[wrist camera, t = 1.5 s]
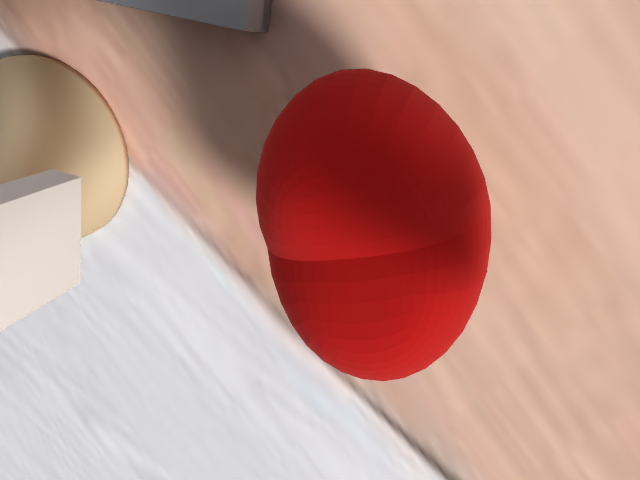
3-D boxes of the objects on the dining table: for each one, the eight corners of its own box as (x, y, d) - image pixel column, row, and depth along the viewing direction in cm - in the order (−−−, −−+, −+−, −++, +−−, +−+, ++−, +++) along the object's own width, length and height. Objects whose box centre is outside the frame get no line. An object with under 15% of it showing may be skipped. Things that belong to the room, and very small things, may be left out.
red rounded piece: (296, 78, 22) (174, 105, 13) (471, 41, 20) (473, 42, 11) (338, 284, 25) (262, 425, 16) (496, 270, 23) (515, 425, 14)
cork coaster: (-23, 212, 29) (-31, 215, 28) (-37, 37, 25) (-46, 37, 25) (125, 256, 27) (119, 260, 27) (132, 77, 24) (126, 77, 23)
